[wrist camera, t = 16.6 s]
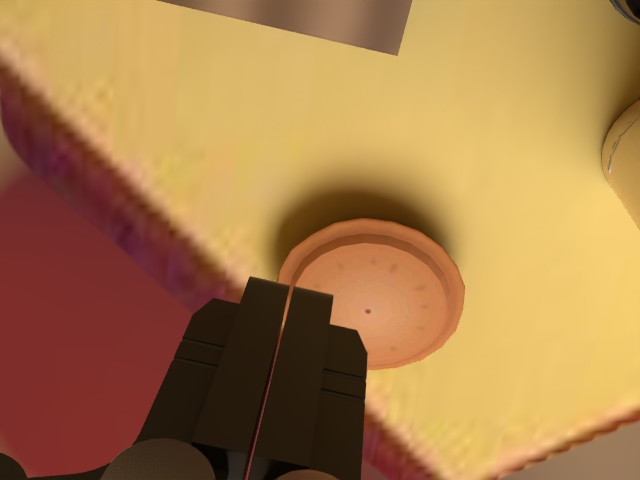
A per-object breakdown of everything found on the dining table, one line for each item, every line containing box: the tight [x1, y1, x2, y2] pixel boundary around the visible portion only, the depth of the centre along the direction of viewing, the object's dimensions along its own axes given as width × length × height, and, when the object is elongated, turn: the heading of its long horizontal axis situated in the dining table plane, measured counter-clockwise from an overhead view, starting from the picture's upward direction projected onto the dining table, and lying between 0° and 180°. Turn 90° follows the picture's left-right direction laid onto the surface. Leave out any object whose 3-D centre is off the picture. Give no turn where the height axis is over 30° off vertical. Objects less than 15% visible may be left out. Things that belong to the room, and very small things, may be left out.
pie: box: [277, 218, 465, 370], centre depth 51 cm, size 16×16×5 cm
